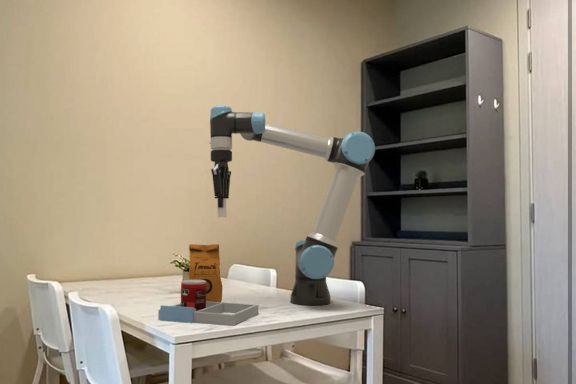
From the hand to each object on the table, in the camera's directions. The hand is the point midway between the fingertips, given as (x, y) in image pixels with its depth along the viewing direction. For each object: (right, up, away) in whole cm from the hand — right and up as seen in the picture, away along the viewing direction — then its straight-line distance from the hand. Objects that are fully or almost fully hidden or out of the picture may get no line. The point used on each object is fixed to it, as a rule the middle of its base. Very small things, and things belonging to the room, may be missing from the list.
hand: (222, 217), depth 182 cm
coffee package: (-7, -32, +3) cm, 33 cm away
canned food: (-7, -31, -16) cm, 35 cm away
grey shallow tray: (-2, -31, -18) cm, 35 cm away
